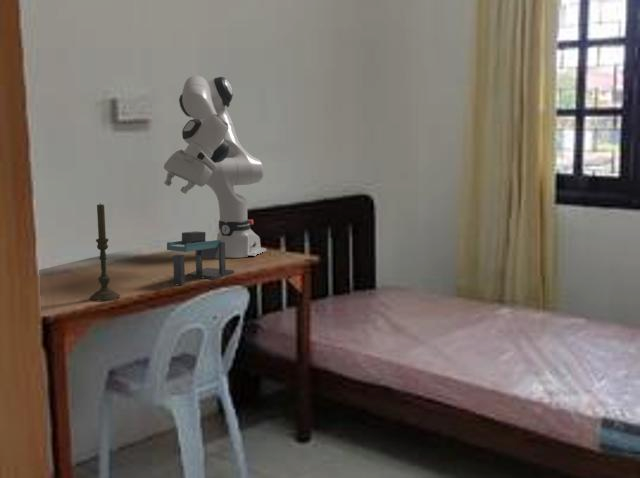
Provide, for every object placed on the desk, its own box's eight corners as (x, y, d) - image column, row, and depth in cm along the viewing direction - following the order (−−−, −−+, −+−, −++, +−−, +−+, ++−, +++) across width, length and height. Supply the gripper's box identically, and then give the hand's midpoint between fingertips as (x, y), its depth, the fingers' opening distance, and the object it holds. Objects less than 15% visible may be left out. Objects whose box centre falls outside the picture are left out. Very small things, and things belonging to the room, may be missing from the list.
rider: (181, 244, 275) (195, 242, 282) (191, 245, 273) (205, 243, 280) (181, 232, 275) (196, 231, 282) (191, 233, 273) (205, 232, 280)
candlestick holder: (114, 293, 260) (110, 200, 255) (124, 298, 252) (119, 202, 247) (86, 297, 255) (81, 202, 250) (95, 302, 247) (90, 204, 243)
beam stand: (207, 270, 296) (206, 237, 294) (234, 273, 290) (233, 240, 289) (163, 283, 274) (162, 248, 272) (191, 286, 269) (190, 251, 267)
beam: (206, 255, 292) (206, 237, 291) (226, 257, 288) (226, 239, 288) (166, 261, 272) (166, 242, 271) (186, 263, 268) (187, 244, 267)
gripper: (173, 143, 287) (151, 175, 285) (209, 158, 274) (186, 192, 272) (184, 153, 292) (162, 184, 290) (220, 168, 279) (197, 201, 277)
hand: (174, 188), depth 281 cm, fingers open, 8 cm apart
